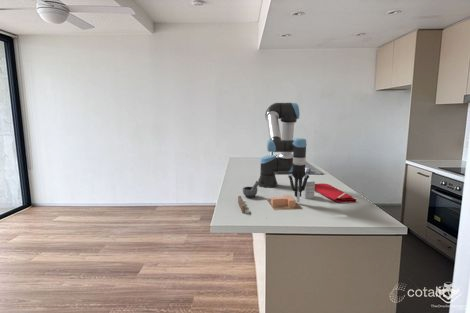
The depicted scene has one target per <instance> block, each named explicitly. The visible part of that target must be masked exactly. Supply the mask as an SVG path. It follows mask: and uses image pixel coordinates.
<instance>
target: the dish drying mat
mask: <svg viewBox="0 0 470 313" xmlns="http://www.w3.org/2000/svg"><path fill="white" fill-rule="evenodd" d="M314 192H317V193H318V194H321V195H322V196H324V197H325V198H328V199H329V200H332V201H334V202H335V203H336V202H337V203H339V202H346V203H357V199H356V198H355V197H353V196H352V195H351V194H348V193H346V192H344V191H343V190H340V189H339V188H337V187H335V186H333V185H331V184H329V183H324V182H323V183H315V190H314Z"/></svg>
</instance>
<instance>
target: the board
mask: <svg viewBox="0 0 470 313" xmlns="http://www.w3.org/2000/svg"><path fill="white" fill-rule="evenodd" d="M237 198H238V199H237V204H238V206H239V209H240V210H241V212H242V214H251V213H252V211H251V209H250V207H249V204H248V203H247V202H246V200H243V198H242V196H241V195H238V196H237ZM266 201H267V202H268V204H269V205H270V206H271V207H272V209H273V210H274V211H286V210H287V211H289V210H291V211H292V210H303V207H302V206H300V205H299V204H298V202H296V205H295V207H288V205H278V206H273V205H272V204H271V199H266Z"/></svg>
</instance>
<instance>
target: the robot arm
mask: <svg viewBox="0 0 470 313" xmlns="http://www.w3.org/2000/svg"><path fill="white" fill-rule="evenodd" d="M264 116H265V120H266V122H267V129H268V138H269V139H268V140H267V141H266V142H267V143H266V148H267V149H266V150H267V152H269V153H279V154H278V156H277V155H272V154H270V155H264V156H262V157H260V162H259V163H260V167H259V168H260V169H259V170H260V173H259V174H260V175H259V178H258V180H257V181H258V182H259V183H260V184H258V186H259V187H261V188H274V187H275V188H276V187H277V186H278V181H277V177H276V173H291V174H288V175H287V177H288V179H289V183H290V188H291V190H292V191H293V192H294V197H295V200H296V203H300V201H301V199H300V198H302V197H301V192H302V191H304V190H305V186H306V183H307V179H310V175H309V174H307V173H306V160H307V159H306V158H307V156H306V155H307V139H306V138H303V137H302V138H301V137H297V138H294V132H295V123H297V120H299V118H300V108H299V104H298V103H296V102H274V103H272V104H270V105H269V107H268V108H267V109H266V110H265V115H264ZM279 119H280V123H282V125H281V126H282V127H281V129H280V124H279ZM280 130H281V131H280ZM293 178H294V180H293ZM302 179H304V181H303V184H302Z"/></svg>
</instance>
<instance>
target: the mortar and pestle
mask: <svg viewBox="0 0 470 313" xmlns="http://www.w3.org/2000/svg"><path fill="white" fill-rule="evenodd" d="M258 181H259V180H256V181H255V183H254V184H253V186H243V188H242V194H243V196H245V198H247V199H253V198H255V196H257V193H258V186H259V185H258V184H260V183H259V182H258Z"/></svg>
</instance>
